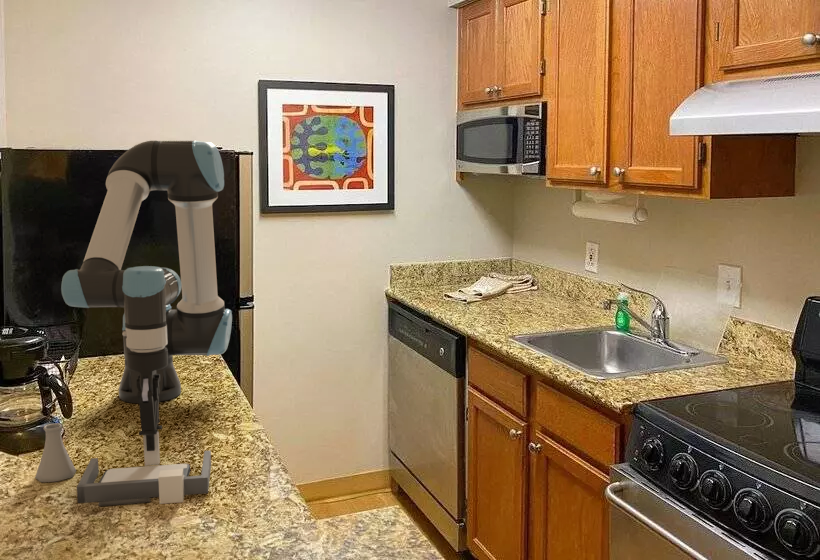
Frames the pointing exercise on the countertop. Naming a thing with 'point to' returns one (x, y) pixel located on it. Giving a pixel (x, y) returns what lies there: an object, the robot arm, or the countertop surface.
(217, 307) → the robot arm
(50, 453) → the flask
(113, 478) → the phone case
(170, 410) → the countertop surface
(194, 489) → the dock
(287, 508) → the countertop surface
